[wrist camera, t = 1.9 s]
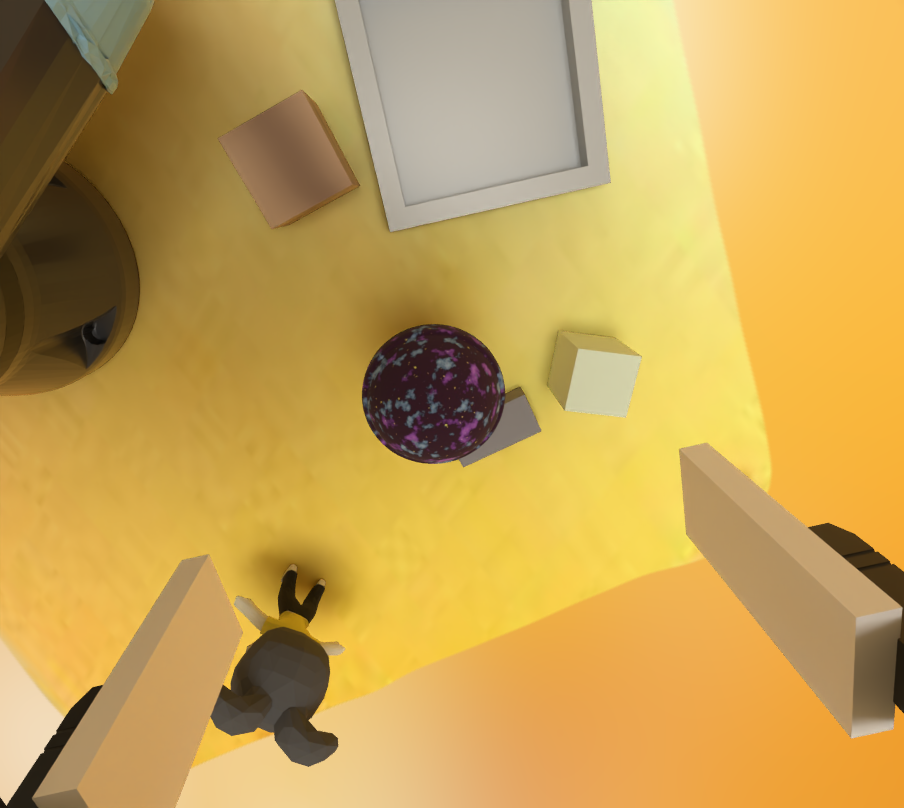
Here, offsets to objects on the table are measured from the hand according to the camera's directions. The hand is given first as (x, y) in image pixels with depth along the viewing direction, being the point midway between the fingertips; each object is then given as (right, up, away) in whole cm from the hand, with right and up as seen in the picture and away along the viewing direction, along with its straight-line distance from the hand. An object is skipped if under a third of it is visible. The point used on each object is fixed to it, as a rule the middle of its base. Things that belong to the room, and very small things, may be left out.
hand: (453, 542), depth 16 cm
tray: (+1, +22, +18) cm, 29 cm away
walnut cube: (-9, +18, +19) cm, 28 cm away
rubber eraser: (+3, +3, +26) cm, 26 cm away
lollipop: (-2, +8, +23) cm, 25 cm away
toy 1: (-11, -9, +29) cm, 32 cm away
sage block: (+9, +7, +24) cm, 27 cm away
